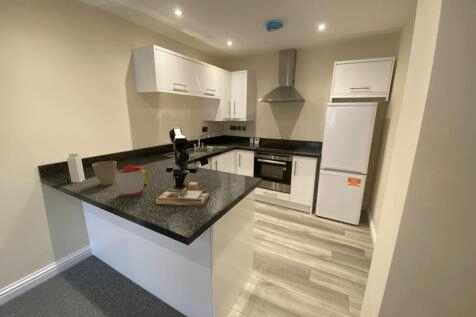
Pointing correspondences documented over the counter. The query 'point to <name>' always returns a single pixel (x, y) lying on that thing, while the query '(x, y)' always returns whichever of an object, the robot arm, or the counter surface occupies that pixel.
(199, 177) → the counter surface
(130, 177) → the citrus juicer
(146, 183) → the puzzle toy
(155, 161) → the counter surface
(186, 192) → the slide cover
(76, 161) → the milk
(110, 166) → the plant pot
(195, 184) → the block
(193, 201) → the puzzle board
